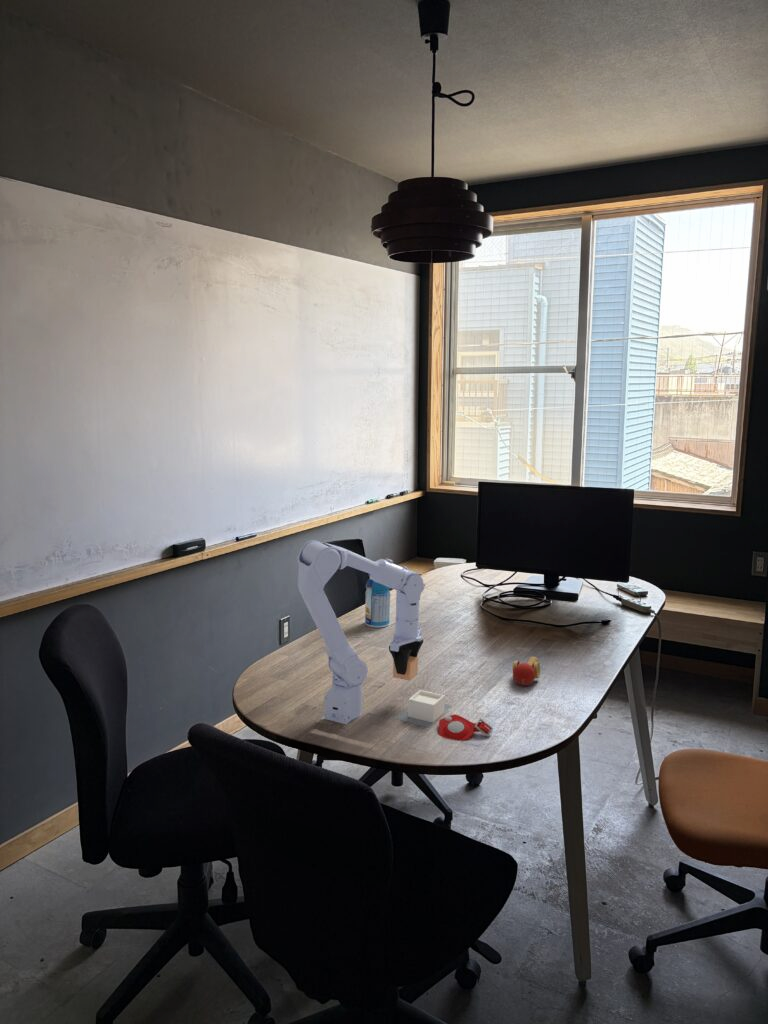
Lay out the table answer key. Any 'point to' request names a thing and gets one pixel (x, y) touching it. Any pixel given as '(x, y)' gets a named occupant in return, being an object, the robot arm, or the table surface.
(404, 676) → the orange block
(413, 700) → the cream base block
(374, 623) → the beverage bottle
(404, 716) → the baseplate
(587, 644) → the table surface
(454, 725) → the tracker holder
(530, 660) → the kendama
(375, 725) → the table surface
